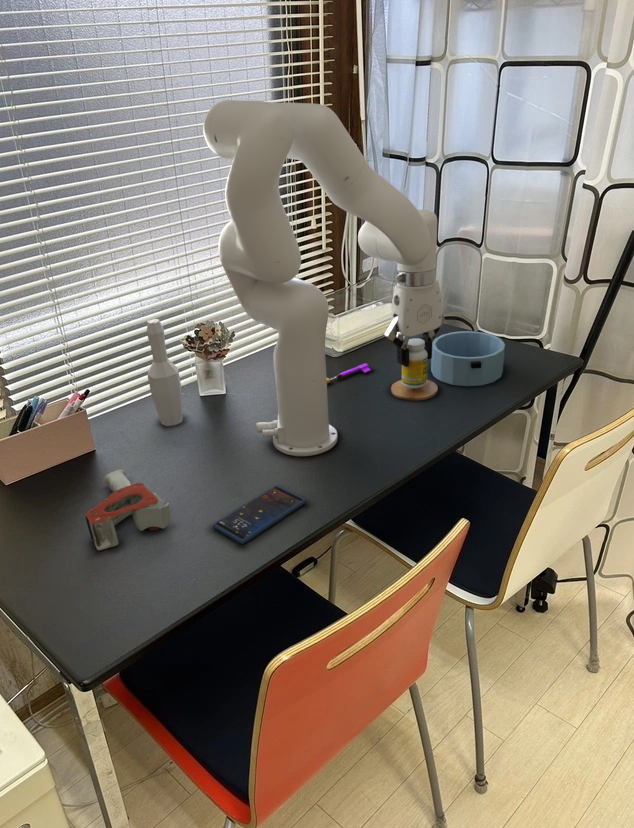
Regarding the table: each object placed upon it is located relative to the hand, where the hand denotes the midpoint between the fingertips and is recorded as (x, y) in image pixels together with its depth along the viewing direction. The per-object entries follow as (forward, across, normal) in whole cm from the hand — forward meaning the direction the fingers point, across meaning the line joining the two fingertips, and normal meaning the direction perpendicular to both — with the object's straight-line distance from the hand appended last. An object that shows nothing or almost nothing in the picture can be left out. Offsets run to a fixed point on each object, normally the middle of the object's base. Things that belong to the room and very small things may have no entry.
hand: (414, 360), depth 150 cm
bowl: (+7, +15, 0) cm, 17 cm away
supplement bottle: (+6, 0, 0) cm, 6 cm away
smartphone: (+7, -49, -22) cm, 54 cm away
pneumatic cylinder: (+7, -9, +14) cm, 18 cm away
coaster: (+7, 0, 0) cm, 7 cm away
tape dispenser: (+7, -67, -8) cm, 68 cm away
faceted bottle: (+7, -48, +20) cm, 53 cm away
